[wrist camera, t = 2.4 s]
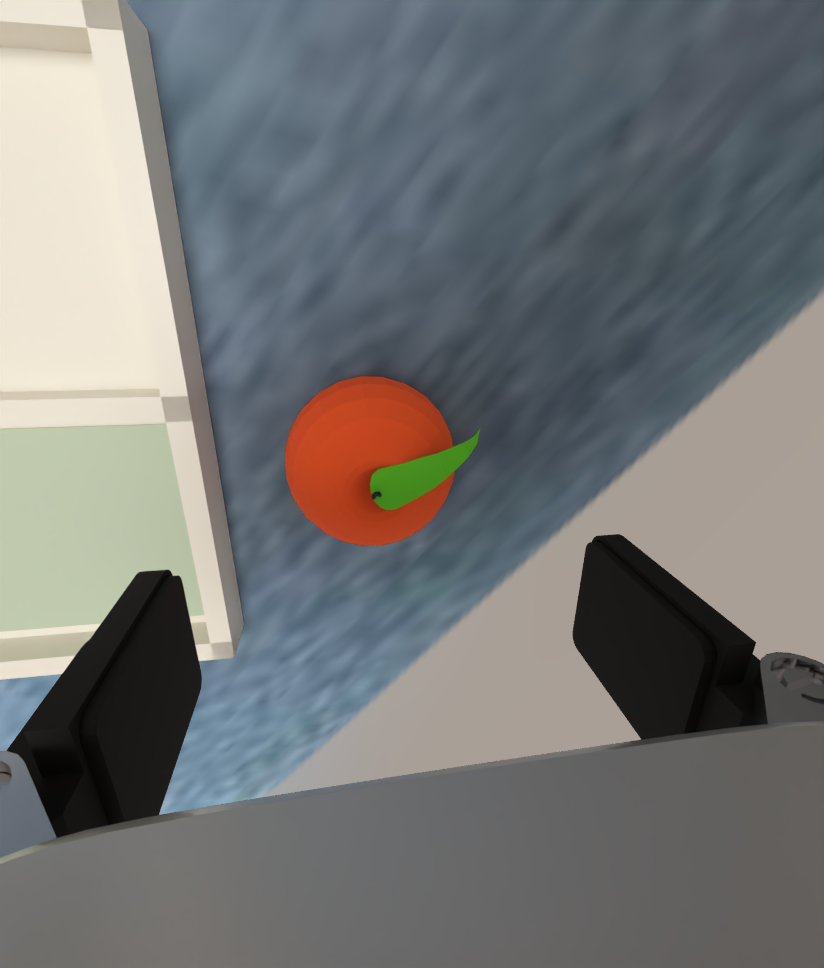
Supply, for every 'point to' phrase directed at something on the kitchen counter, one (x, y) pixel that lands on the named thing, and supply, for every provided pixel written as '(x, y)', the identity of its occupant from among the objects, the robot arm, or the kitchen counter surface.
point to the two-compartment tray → (96, 347)
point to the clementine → (371, 460)
